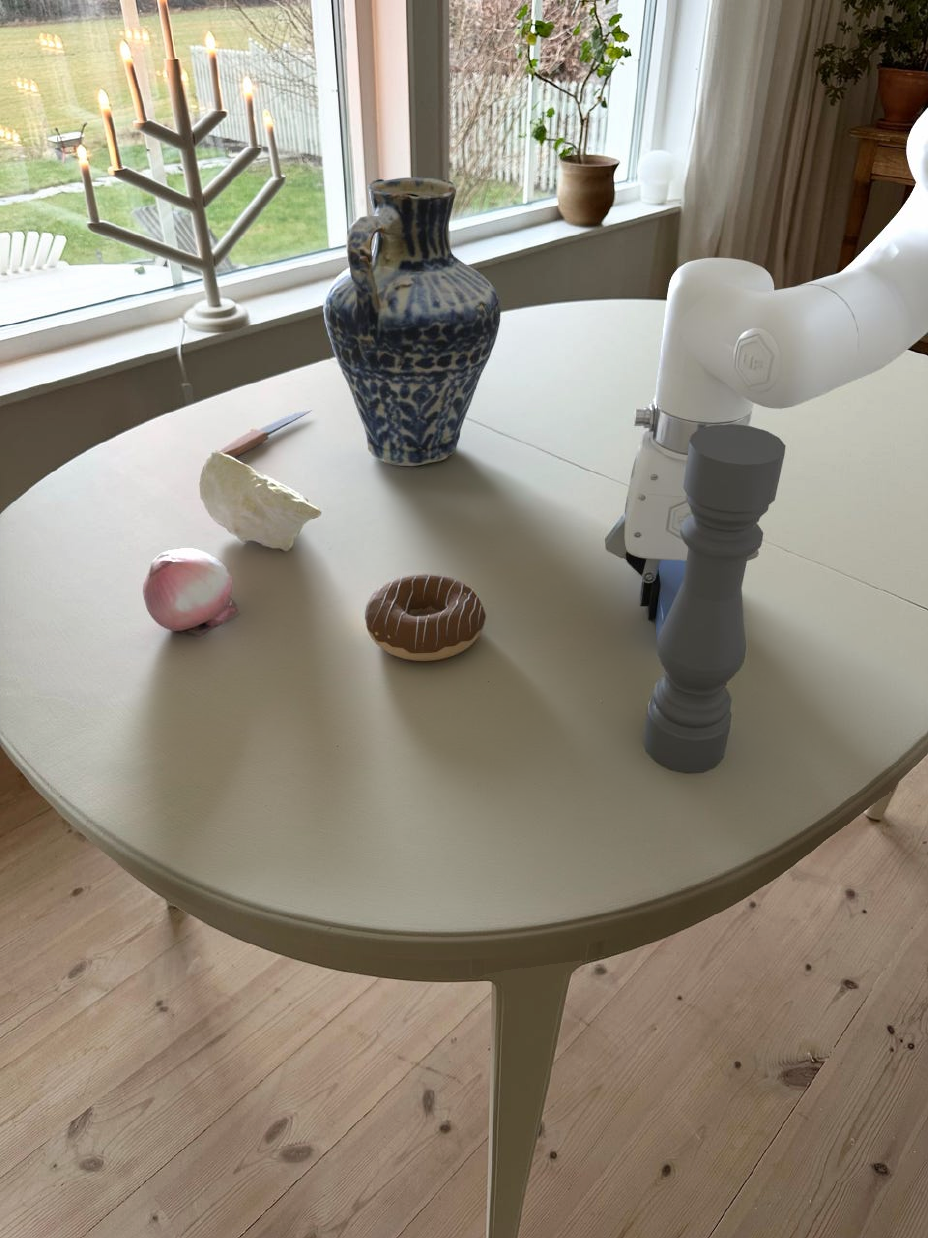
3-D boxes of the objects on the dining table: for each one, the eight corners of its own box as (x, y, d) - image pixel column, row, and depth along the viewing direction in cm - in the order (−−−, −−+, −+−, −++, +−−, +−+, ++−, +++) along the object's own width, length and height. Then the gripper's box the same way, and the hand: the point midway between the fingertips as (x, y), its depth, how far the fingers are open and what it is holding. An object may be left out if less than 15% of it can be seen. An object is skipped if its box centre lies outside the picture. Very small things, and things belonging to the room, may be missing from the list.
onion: (176, 592, 88) (160, 527, 84) (253, 600, 87) (241, 534, 82) (138, 643, 81) (119, 575, 77) (220, 651, 80) (206, 583, 76)
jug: (377, 409, 122) (360, 159, 104) (518, 428, 117) (525, 169, 99) (305, 478, 106) (271, 198, 89) (463, 504, 101) (461, 212, 83)
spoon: (706, 655, 79) (712, 625, 77) (645, 651, 80) (649, 621, 78) (688, 551, 93) (693, 523, 91) (636, 548, 93) (639, 521, 91)
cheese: (212, 521, 103) (148, 496, 88) (243, 463, 102) (184, 428, 88) (328, 585, 100) (283, 571, 86) (360, 526, 100) (321, 501, 85)
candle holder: (664, 780, 67) (715, 472, 53) (629, 725, 72) (668, 429, 58) (740, 763, 69) (811, 458, 54) (701, 710, 74) (756, 417, 59)
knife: (294, 402, 122) (312, 406, 120) (294, 409, 122) (312, 414, 121) (205, 450, 110) (224, 456, 109) (207, 458, 111) (226, 464, 109)
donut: (341, 636, 82) (337, 599, 80) (424, 586, 88) (423, 550, 86) (426, 688, 76) (425, 650, 74) (509, 631, 82) (510, 594, 80)
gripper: (596, 442, 71) (580, 632, 82) (814, 450, 70) (768, 642, 81) (595, 403, 77) (580, 584, 88) (796, 409, 76) (755, 594, 87)
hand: (670, 610), depth 84 cm, fingers closed on spoon, 3 cm apart
